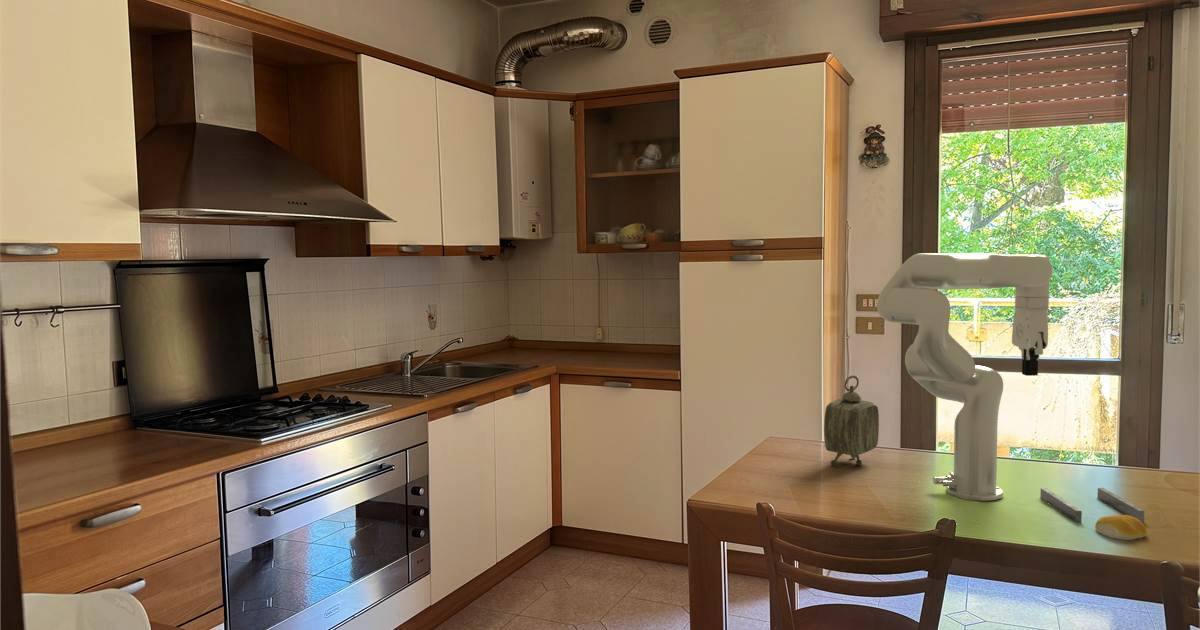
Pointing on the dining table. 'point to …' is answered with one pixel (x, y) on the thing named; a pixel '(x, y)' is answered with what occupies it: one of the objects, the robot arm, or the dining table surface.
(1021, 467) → the dining table surface
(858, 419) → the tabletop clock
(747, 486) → the dining table surface
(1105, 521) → the bread roll
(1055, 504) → the chute
